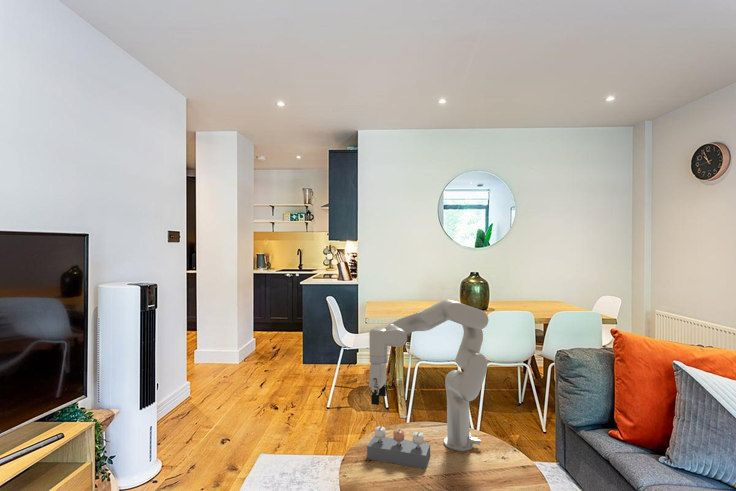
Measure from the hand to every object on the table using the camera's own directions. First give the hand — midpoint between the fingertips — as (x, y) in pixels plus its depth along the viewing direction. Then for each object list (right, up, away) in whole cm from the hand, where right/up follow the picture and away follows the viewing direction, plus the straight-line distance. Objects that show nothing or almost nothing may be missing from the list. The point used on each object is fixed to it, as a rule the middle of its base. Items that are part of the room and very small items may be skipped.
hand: (378, 400), depth 159 cm
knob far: (0, -18, 0) cm, 18 cm away
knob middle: (+8, -18, -3) cm, 20 cm away
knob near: (+16, -18, -5) cm, 24 cm away
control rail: (+8, -22, -3) cm, 24 cm away
